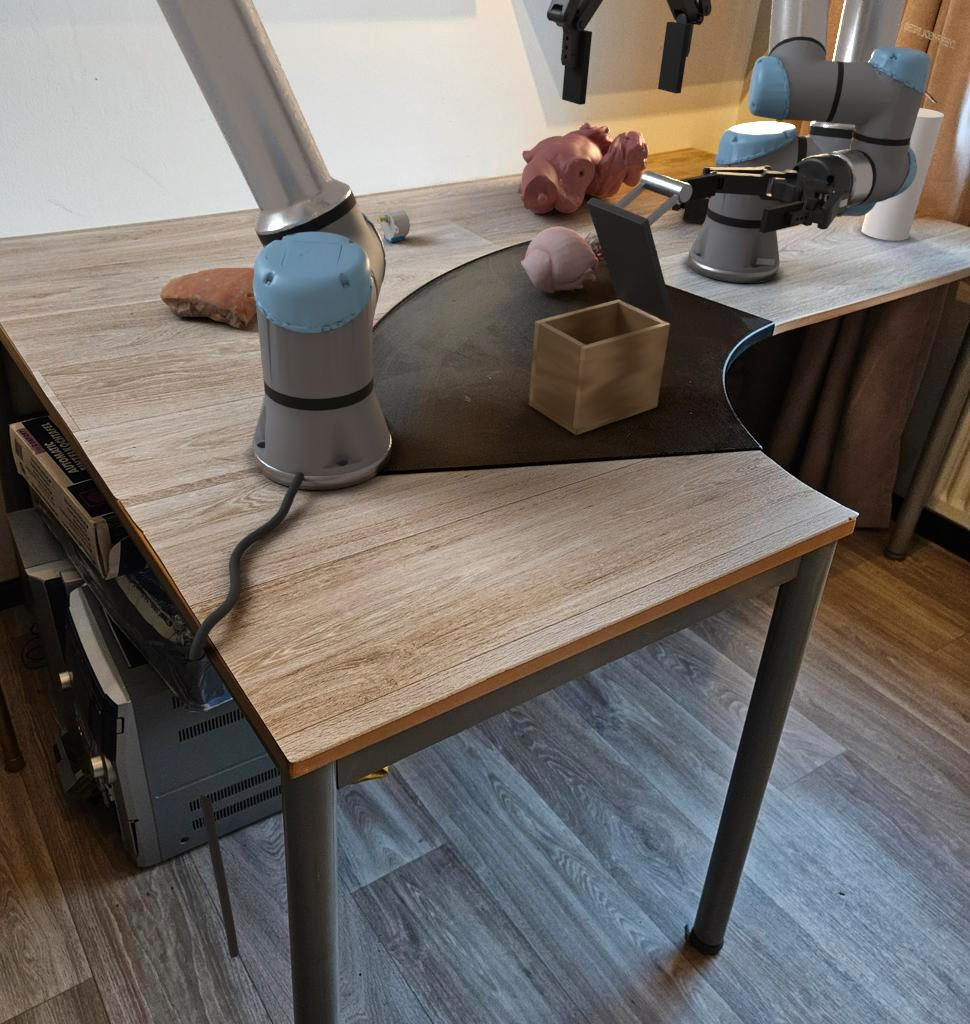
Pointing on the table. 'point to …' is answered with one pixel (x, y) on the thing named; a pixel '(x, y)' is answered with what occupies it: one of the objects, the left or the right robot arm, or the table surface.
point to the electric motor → (394, 225)
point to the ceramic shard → (213, 295)
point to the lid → (637, 244)
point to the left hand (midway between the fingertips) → (623, 96)
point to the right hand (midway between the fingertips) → (720, 205)
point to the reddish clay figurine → (580, 168)
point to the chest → (597, 365)
